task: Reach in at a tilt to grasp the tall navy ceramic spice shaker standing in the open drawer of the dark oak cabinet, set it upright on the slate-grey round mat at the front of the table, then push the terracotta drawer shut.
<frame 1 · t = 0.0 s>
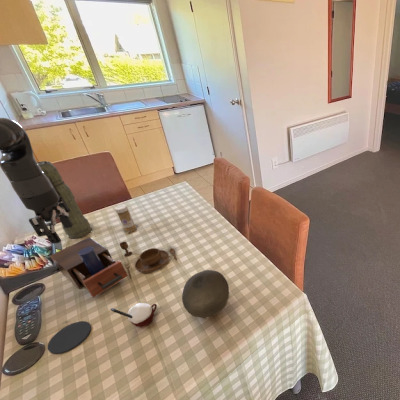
hand: (63, 234, 85), 23 cm above the table, tool pointing down, fingers open, 8 cm apart
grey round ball: (212, 310, 87), on the table
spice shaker: (102, 277, 97), point 2 cm above the table, touching drawer
place setting: (150, 258, 109), on the table
cocoa: (143, 322, 84), on the table
mat: (70, 337, 79), on the table
thermos: (81, 233, 124), on the table
drawer: (101, 274, 95), point 5 cm above the table, slide at 9.0 cm, touching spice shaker
sprinkles bottle: (131, 231, 125), on the table
cabinet: (89, 270, 103), on the table
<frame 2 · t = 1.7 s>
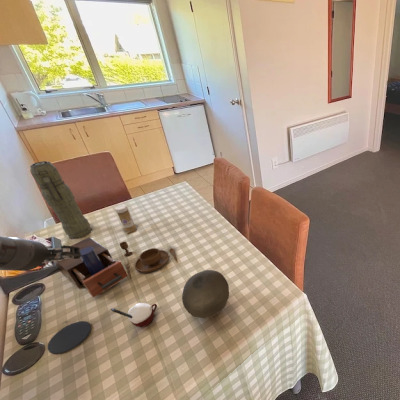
hand: (61, 258, 78), 21 cm above the table, tool tilted 45°, fingers open, 8 cm apart
nothing on the table moved.
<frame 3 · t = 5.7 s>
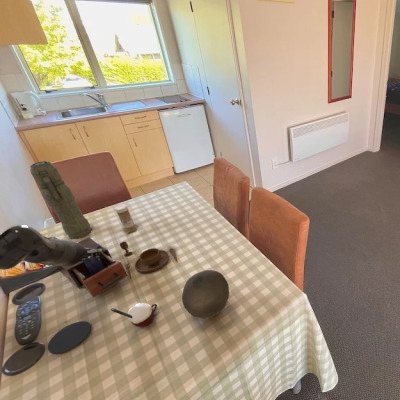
hand: (93, 256, 94), 11 cm above the table, tool tilted 45°, fingers closed on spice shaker, 4 cm apart
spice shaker: (102, 277, 97), point 2 cm above the table, touching drawer, gripper
everything else where it was.
when the fingers open (9 cm above the table, at t = 17.2 s): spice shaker stays where it is, resting on mat.
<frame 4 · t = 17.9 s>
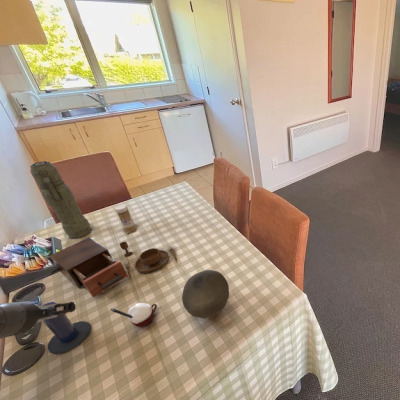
hand: (55, 311, 75), 10 cm above the table, tool tilted 45°, fingers open, 8 cm apart
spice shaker: (69, 336, 79), point 1 cm above the table, touching mat
drawer: (101, 274, 95), point 5 cm above the table, slide at 9.0 cm
everything else where it was.
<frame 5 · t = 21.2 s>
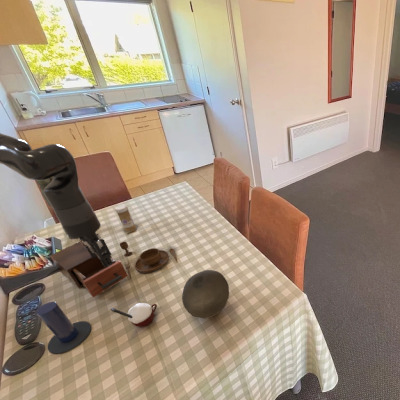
hand: (102, 260, 82), 18 cm above the table, tool pointing down, fingers open, 7 cm apart
nothing on the table moved.
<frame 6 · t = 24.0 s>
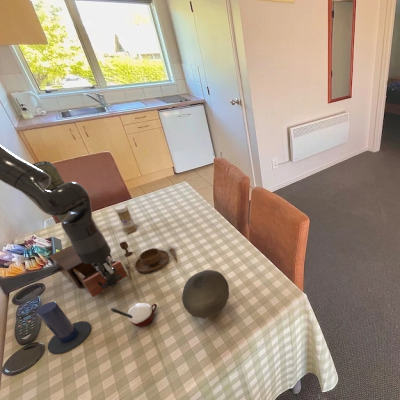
hand: (113, 284, 90), 5 cm above the table, tool pointing down, fingers closed
drawer: (100, 274, 95), point 5 cm above the table, slide at 8.9 cm, touching gripper
everything else where it was.
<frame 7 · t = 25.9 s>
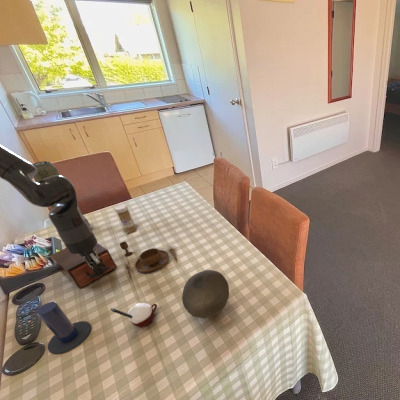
hand: (100, 274, 94), 5 cm above the table, tool pointing down, fingers closed
drawer: (89, 265, 99), point 5 cm above the table, slide at 0.0 cm, touching cabinet, gripper
everything else where it was.
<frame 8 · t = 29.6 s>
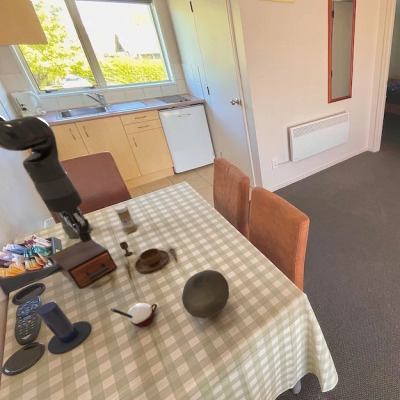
hand: (86, 240, 83), 23 cm above the table, tool pointing down, fingers closed
drawer: (89, 265, 99), point 5 cm above the table, slide at 0.0 cm, touching cabinet
everything else where it was.
at the end: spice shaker 0.1 cm off-centre on the mat, point 0.6 cm above the mat's base; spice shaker tilted 0°; drawer slide at 0.0 cm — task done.
